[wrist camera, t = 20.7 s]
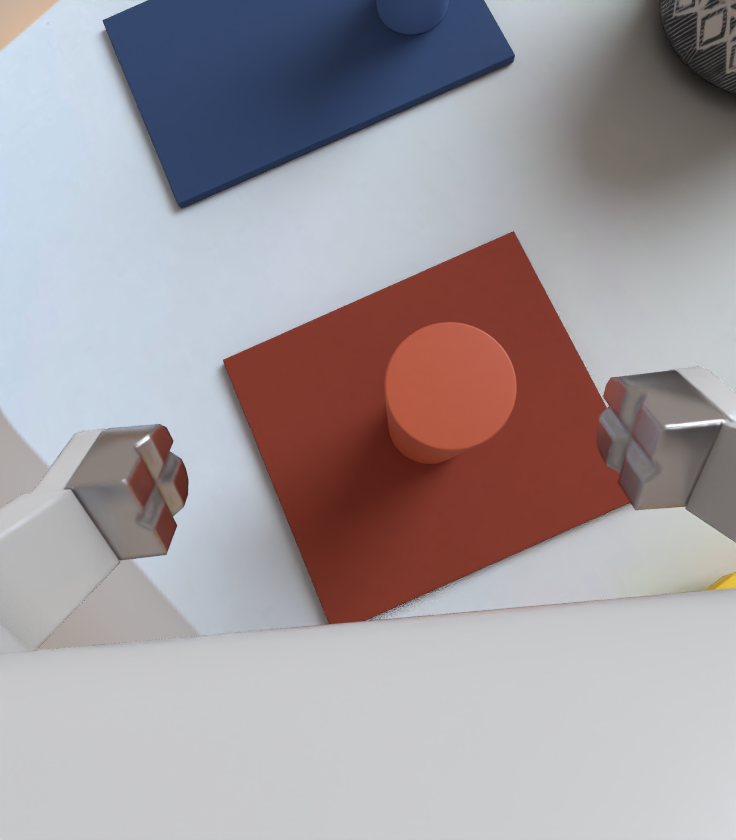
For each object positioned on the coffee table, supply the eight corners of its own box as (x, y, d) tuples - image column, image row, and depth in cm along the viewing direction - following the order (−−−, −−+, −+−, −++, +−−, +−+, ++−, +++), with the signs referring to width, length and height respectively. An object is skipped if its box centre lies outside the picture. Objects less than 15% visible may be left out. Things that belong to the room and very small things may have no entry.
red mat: (334, 631, 25) (333, 634, 25) (225, 362, 27) (222, 359, 27) (647, 492, 25) (652, 492, 25) (511, 235, 28) (513, 230, 27)
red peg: (408, 477, 25) (417, 472, 16) (375, 403, 26) (363, 353, 16) (483, 443, 25) (540, 417, 16) (448, 370, 26) (481, 300, 16)
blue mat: (181, 208, 29) (177, 204, 28) (106, 27, 31) (101, 19, 30) (513, 62, 29) (515, 54, 28) (416, -109, 31) (417, -119, 31)
